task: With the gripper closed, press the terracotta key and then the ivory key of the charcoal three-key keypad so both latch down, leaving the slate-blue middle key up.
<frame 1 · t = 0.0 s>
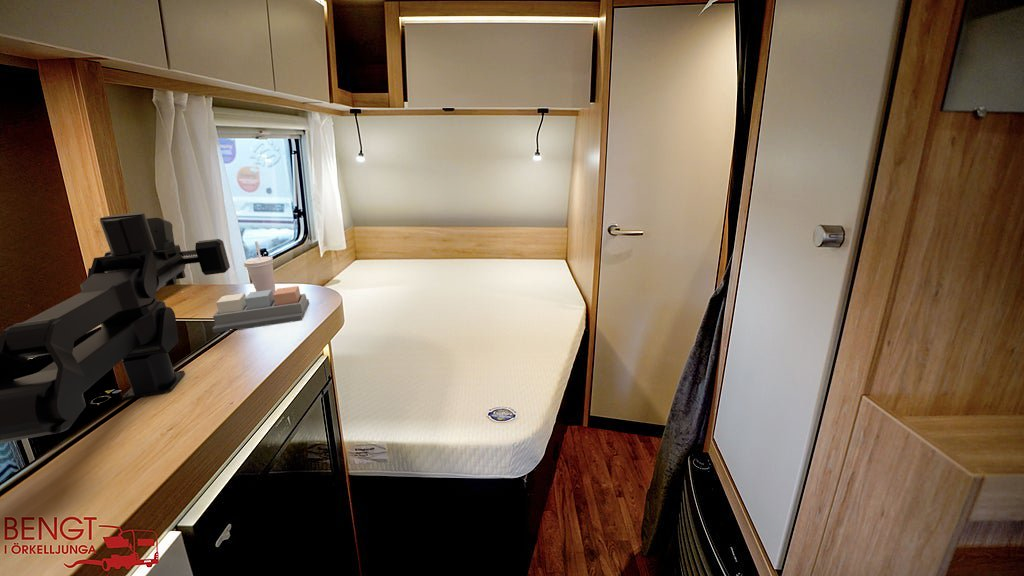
hand: (186, 251, 94), 17 cm above the counter, tool horizontal, fingers open, 9 cm apart
key slate: (260, 299, 101), point 4 cm above the counter, slide at 0.0 cm
keypad: (264, 317, 103), on the counter
key ivory: (232, 303, 100), point 4 cm above the counter, slide at 0.0 cm
smoothie: (267, 298, 116), on the counter
key terracotta: (287, 295, 103), point 4 cm above the counter, slide at 0.0 cm
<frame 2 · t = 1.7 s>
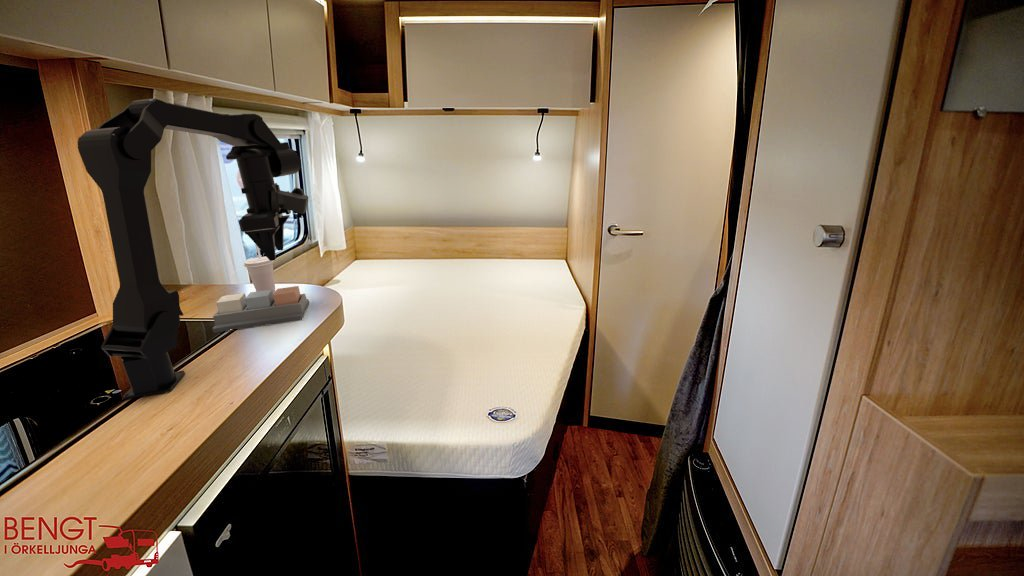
hand: (276, 255, 100), 13 cm above the counter, tool pointing down, fingers open, 8 cm apart
nothing on the counter moved.
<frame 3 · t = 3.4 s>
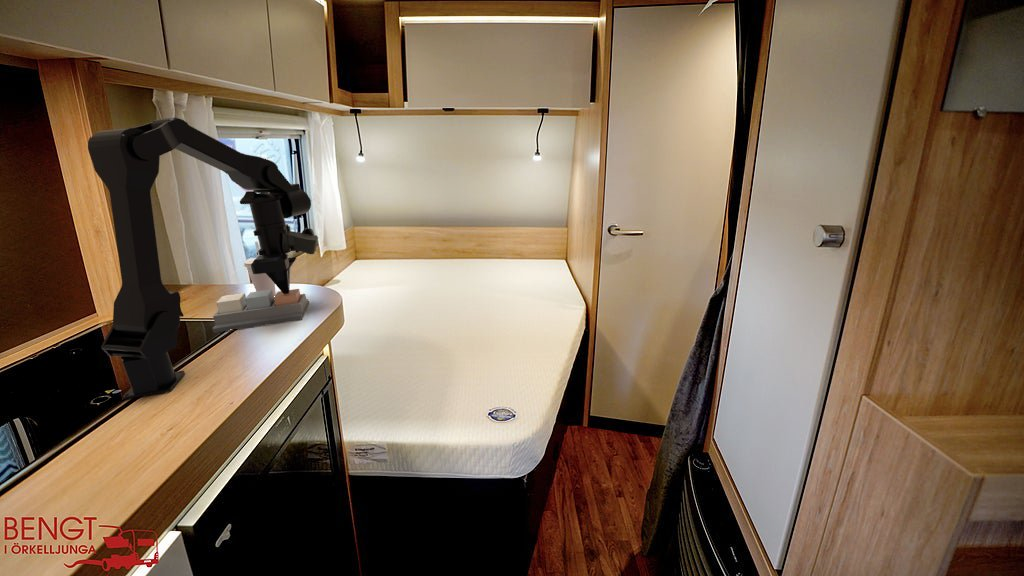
hand: (286, 293, 102), 5 cm above the counter, tool pointing down, fingers closed, pressing on key terracotta
key terracotta: (287, 298, 103), point 3 cm above the counter, slide at -0.7 cm, touching gripper
everything else where it was.
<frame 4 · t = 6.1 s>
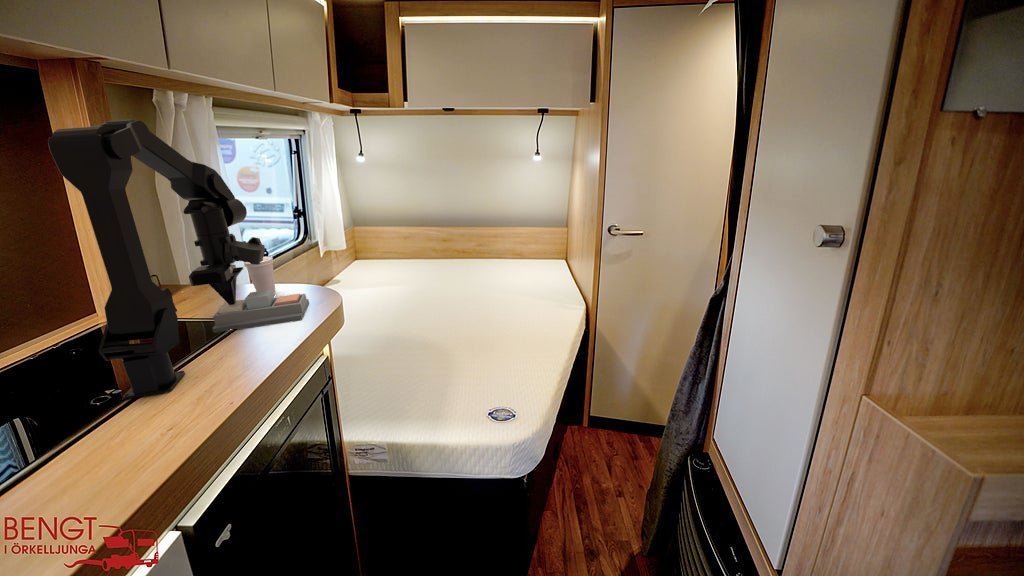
hand: (232, 304, 100), 4 cm above the counter, tool pointing down, fingers closed, pressing on key ivory
key ivory: (234, 309, 101), point 3 cm above the counter, slide at -1.4 cm, touching gripper
key terracotta: (289, 303, 103), point 2 cm above the counter, slide at -1.8 cm
everything else where it was.
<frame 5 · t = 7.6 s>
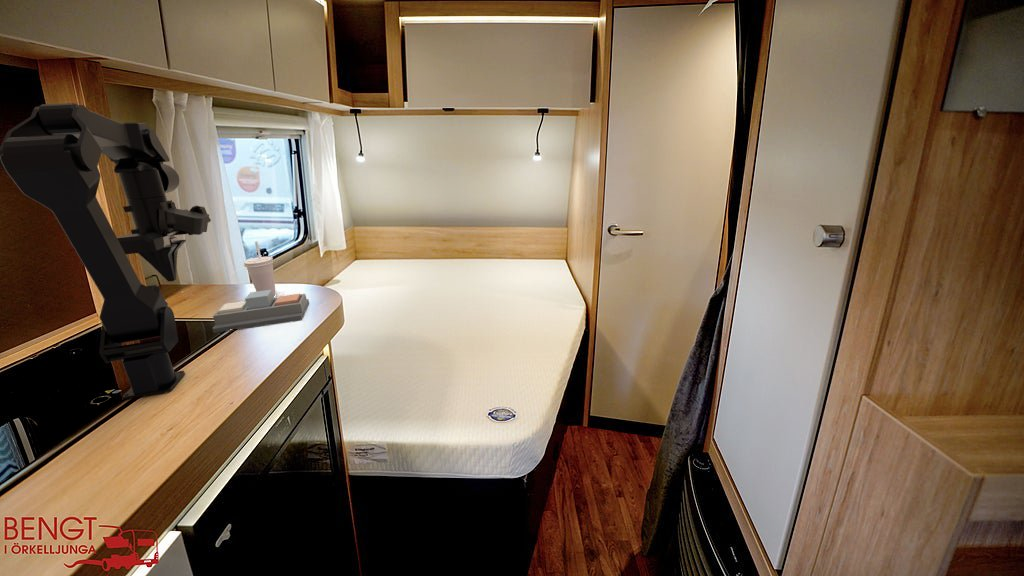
hand: (172, 280, 88), 13 cm above the counter, tool pointing down, fingers closed
key ivory: (234, 311, 101), point 2 cm above the counter, slide at -1.8 cm
everything else where it was.
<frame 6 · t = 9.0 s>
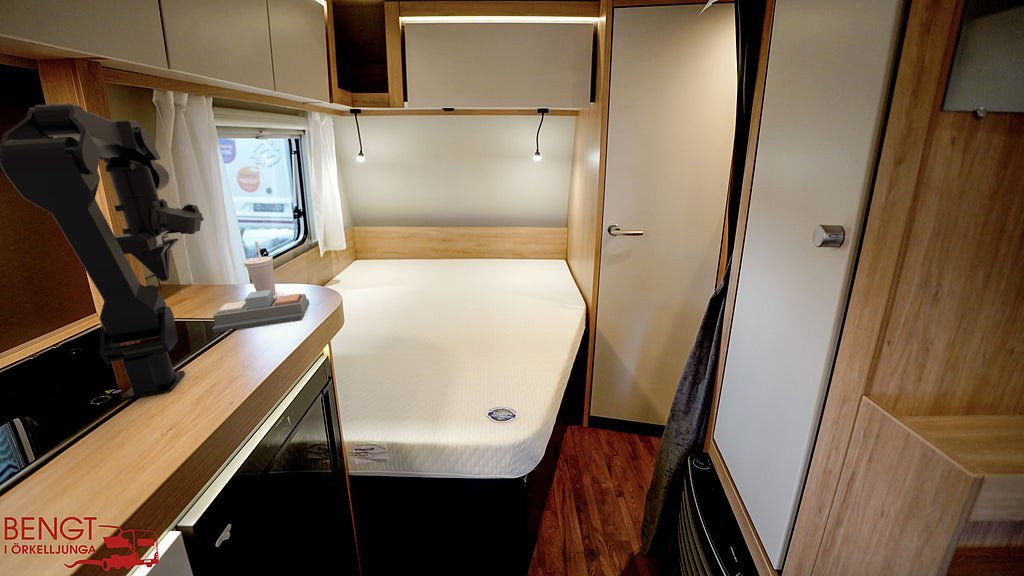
hand: (165, 280, 88), 13 cm above the counter, tool pointing down, fingers closed
nothing on the counter moved.
at the end: key terracotta slide at -1.8 cm; key ivory slide at -1.8 cm; key slate slide at 0.0 cm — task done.
